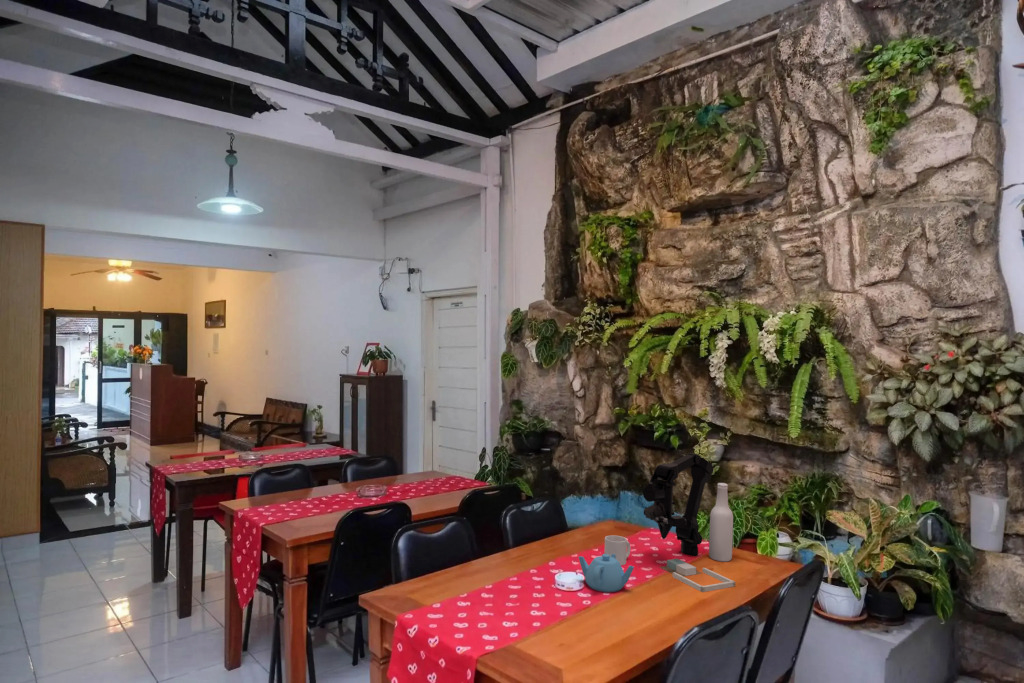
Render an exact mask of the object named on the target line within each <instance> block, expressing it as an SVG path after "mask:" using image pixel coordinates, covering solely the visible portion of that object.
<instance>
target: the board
mask: <svg viewBox="0 0 1024 683" xmlns="http://www.w3.org/2000/svg"><path fill="white" fill-rule="evenodd" d="M659 568H660V569H662V570H664V571H666V572H668V573H670V574H672V575H673V572H675V573H677V574H679V575H681V576H683V577H685V576H684V575H682V574H680V573H678V572H676V571H674V570H672V569H670V568H668V567H667V565H663V566H659ZM701 574H703V572H700V571H698V570H696V574H695V575H701ZM695 575H694V576H695Z"/></svg>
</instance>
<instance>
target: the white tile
mask: <svg viewBox="0 0 1024 683" xmlns="http://www.w3.org/2000/svg"><path fill="white" fill-rule="evenodd" d="M696 571H697V566H695V565H692V564H690V563H688V562H686V563H683V564H677V565H676V572H678V573H680V574H682V575H684V576H683V577H689V576H695V574H696ZM696 575H697V574H696Z"/></svg>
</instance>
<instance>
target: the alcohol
mask: <svg viewBox="0 0 1024 683" xmlns="http://www.w3.org/2000/svg"><path fill="white" fill-rule="evenodd" d="M728 486H729V485H728V484H727V483H725V482H718V483H717V491H716V500H715V505H714V506H713V508H712V509H711V510H710V516H709V541H708V542H709V544H708V545H709V546H708V556H709V558H710V559H711V560H713V561H717V562H721V563H723V562H725V563H726V562H730V561H731V560H732V559H733V532H734V514H733V511H732V510H731V508H730V507H729V499H728V498H729V495H728V488H729V487H728Z"/></svg>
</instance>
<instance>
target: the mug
mask: <svg viewBox="0 0 1024 683" xmlns="http://www.w3.org/2000/svg"><path fill="white" fill-rule="evenodd" d="M603 554H608V555H610V557H611V554H616V559H617V560H618V562H619V563H620V565H621V566H624V565H626V564H627V559H628V557H629V556H630V554H631V543H630V542H629V541H628V539H627V538H626V537H624V536H622V535H621V536H620V535H606V536H605V537H604V553H603Z"/></svg>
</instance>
